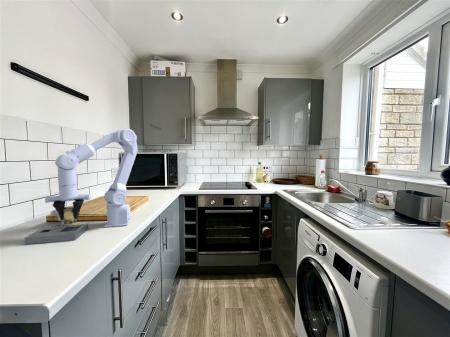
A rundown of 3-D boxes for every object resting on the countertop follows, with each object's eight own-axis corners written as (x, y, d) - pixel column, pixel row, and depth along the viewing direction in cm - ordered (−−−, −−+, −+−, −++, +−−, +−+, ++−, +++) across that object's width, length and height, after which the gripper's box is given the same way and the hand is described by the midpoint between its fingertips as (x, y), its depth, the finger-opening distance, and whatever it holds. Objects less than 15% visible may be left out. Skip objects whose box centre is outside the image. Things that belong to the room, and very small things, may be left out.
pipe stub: (78, 221, 84) (77, 206, 83) (68, 224, 80) (67, 209, 79) (71, 220, 85) (70, 205, 84) (61, 223, 81) (60, 208, 80)
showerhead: (43, 211, 91) (63, 205, 101) (44, 227, 92) (64, 219, 102) (62, 211, 90) (81, 205, 100) (64, 227, 91) (81, 220, 101)
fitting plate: (88, 228, 90) (88, 222, 89) (75, 240, 78) (74, 233, 78) (45, 232, 86) (45, 225, 86) (24, 244, 74) (24, 237, 74)
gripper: (92, 182, 87) (93, 214, 88) (50, 184, 83) (52, 217, 84) (86, 185, 81) (88, 219, 82) (41, 187, 76) (43, 223, 77)
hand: (70, 218), depth 82 cm, fingers closed on pipe stub, 4 cm apart
